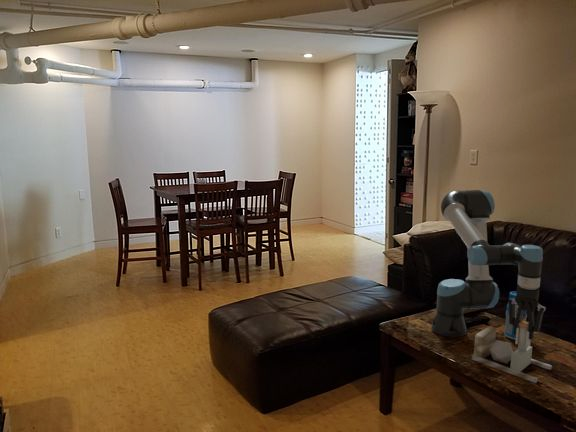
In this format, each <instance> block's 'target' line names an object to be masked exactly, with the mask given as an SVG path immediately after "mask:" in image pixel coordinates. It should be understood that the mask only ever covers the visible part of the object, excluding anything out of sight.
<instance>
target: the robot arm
mask: <svg viewBox="0 0 576 432" xmlns="http://www.w3.org/2000/svg"><path fill="white" fill-rule="evenodd" d="M495 208H496V205H495V199H494V197H493V195H492V194H491V192H489V191H487V190H483V189H481V190H480V189H474V190H473V189H471V190H470V189H469V190H467V189H465V190H459V189H458V190H452V191H449V192H448V193H447V194H446V195H445V196H444V197H443V198H442V200H441V203H440V212H441V215H442V216H443V218H444V219H445V221H448V222H450V224H451V225H452V227H453V228H454V230H455V231H456V233H457V234H458V236H459V237H460V238H461V241H462V242H463V243H464V244H465V246H466V248H467V251H466V253H467V254H466V255H467V256H466V257H467V260H468V262H467V263H468V264H467V265H468V274H467V277H466V278H465V281H464V280H463V279H460V278H459V279H458V278H457V279H455V278H448V279H443V280H442V281H440V282H439V283H438V286H437V290H436V295H437V296H436V309H435V310H436V312H435V314H434V318H433V320H432V322H431V331H432V332H434V333H436V334H438V335H441V336H443V337H450V338H451V337H452V338H458V337H459V338H460V337H464V336H465V335H466V334H467V326H466V322H465V318H464V310H471V309H472V310H473V309H475V310H476V309H482V310H485V309H491V308H494V307H495V306H496V305H497V304H498V302H499V299H500V288H499V287H498V286H499V285H498V284H497V283H496V282H494V279H493V277H492V276H491V275H490V270H489V267H490V266H495V265H496V266H497V265H498V266H499V265H501V266H502V265H514V266H516V267H518V273H517V282H516V283H517V285H516V291H517V292H516V297H515V298H510V299H509V298H508V299H507V304H508V303H509V323H510V324H512V325H513V326H514V335H516V339H515V343H514V344H515V345H518V342H519V332H520V326H519V322H520V321H521V318H522V315H523V311H524V310H526V313H527V318H528V321H527V322H529V330H528V331H527V334H526V344H525V347H526V348H528V347H529V346H531V341H532V340H533V339H534V337H535V332H536V333H537V332H539V331H540V330H541V327H542V323H543V322H542V321H543V317H544V312H545V311H546V310H547V307H546V306H543V305H541V304H540V301H539V298H540V287H541V275H542V266H543V259H544V257H543V254H544V251H543V250H544V249H543V248H542V247H541V246H538V245H535V244H523V245H521V246H520V244H518V243H517V244H516V243H513V242H506V243H504V244H501V245H497V244H496V245H490V244H489V243H488V230H487V222H488V221H489V220H491V219H490V216H491V215H493V213H494V212H495ZM515 301H516V302H515ZM515 303H517V305H518V306H519V307H518V312H517V316H516V320H515ZM536 308H537V315H536V319H535V310H536Z"/></svg>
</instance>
